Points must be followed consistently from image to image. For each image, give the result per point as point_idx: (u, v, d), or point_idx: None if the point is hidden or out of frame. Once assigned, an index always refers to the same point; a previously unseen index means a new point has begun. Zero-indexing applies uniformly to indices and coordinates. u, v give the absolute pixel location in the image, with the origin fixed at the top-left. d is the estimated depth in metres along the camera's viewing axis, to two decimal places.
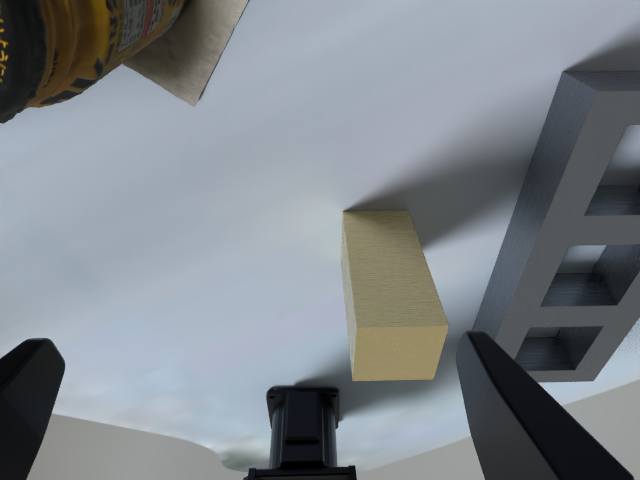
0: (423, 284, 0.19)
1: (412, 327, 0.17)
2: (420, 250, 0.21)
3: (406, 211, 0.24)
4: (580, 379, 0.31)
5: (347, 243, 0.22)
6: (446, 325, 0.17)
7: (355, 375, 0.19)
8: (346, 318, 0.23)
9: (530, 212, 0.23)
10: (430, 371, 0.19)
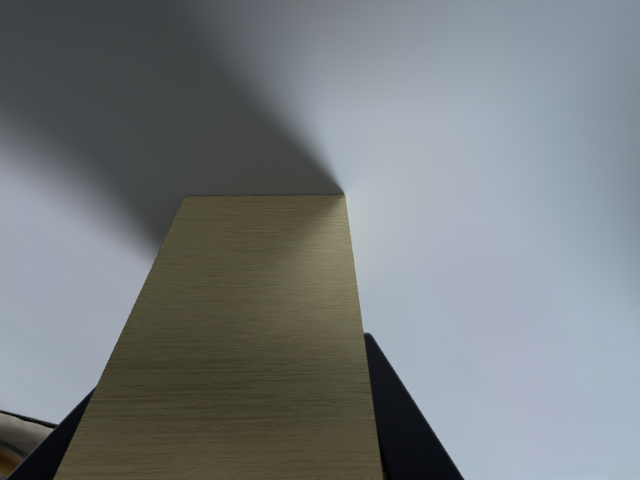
0: None
1: None
2: (131, 318, 0.07)
3: None
4: None
5: None
6: None
7: None
8: None
9: None
10: None
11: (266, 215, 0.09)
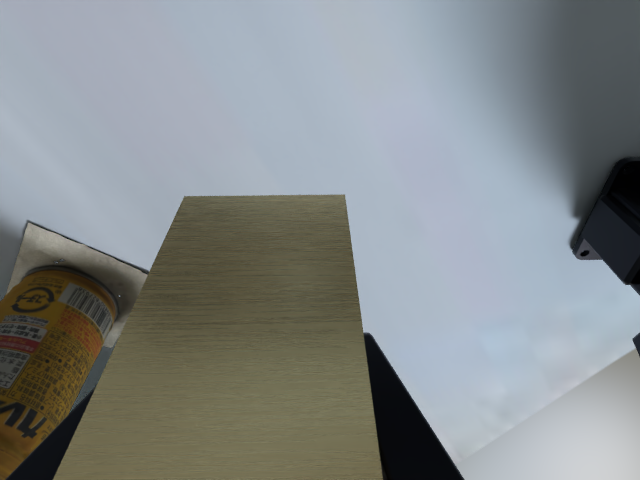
0: None
1: None
2: (131, 318, 0.07)
3: None
4: None
5: None
6: None
7: None
8: None
9: None
10: None
11: (266, 215, 0.09)
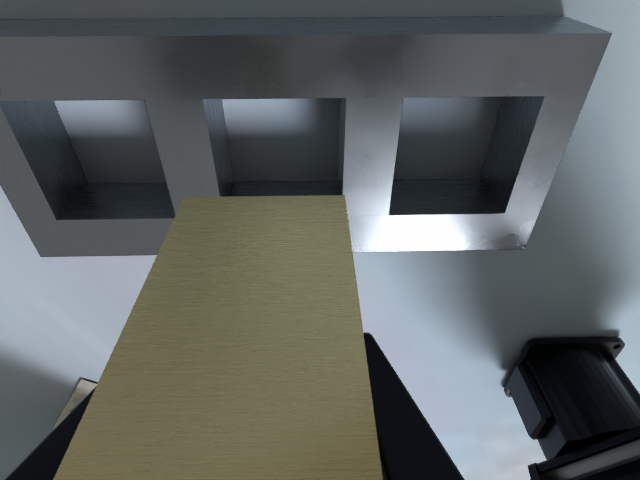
0: None
1: None
2: (131, 319, 0.07)
3: None
4: (590, 68, 0.14)
5: None
6: None
7: None
8: None
9: None
10: None
11: (266, 216, 0.09)
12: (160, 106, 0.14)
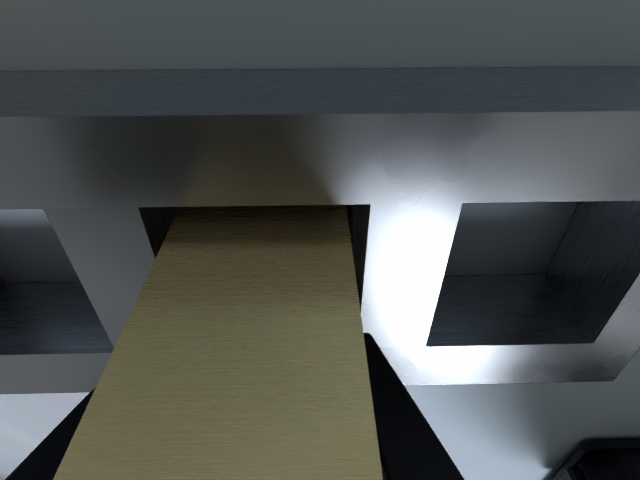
0: None
1: None
2: (131, 319, 0.07)
3: None
4: None
5: None
6: None
7: None
8: None
9: None
10: None
11: (266, 215, 0.09)
12: (71, 217, 0.09)
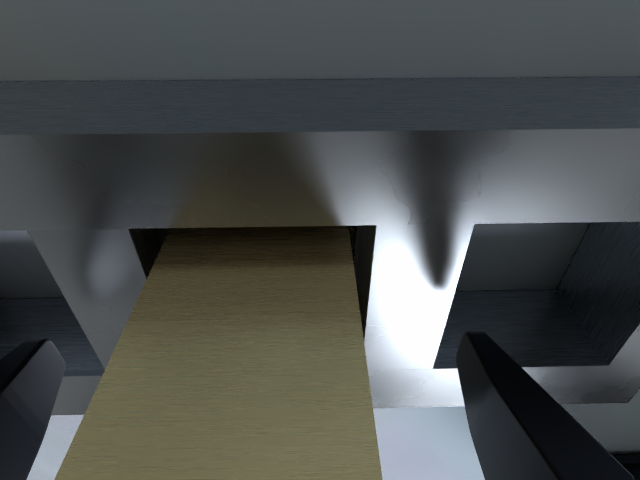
0: None
1: None
2: (149, 280, 0.08)
3: None
4: None
5: None
6: None
7: None
8: None
9: None
10: None
11: None
12: (56, 239, 0.08)
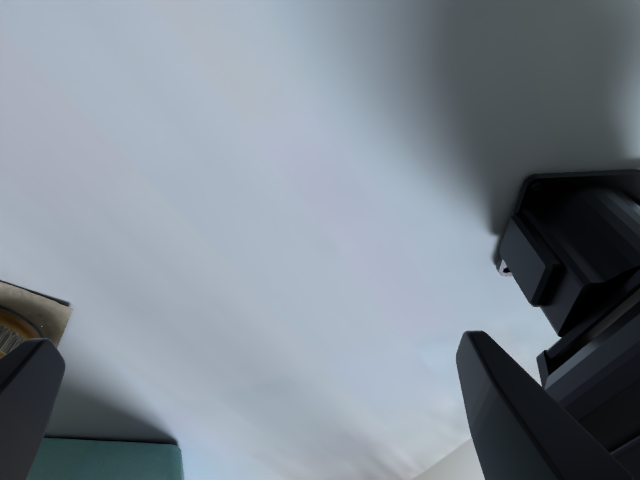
0: None
1: None
2: None
3: None
4: None
5: None
6: None
7: None
8: None
9: None
10: None
11: None
12: None
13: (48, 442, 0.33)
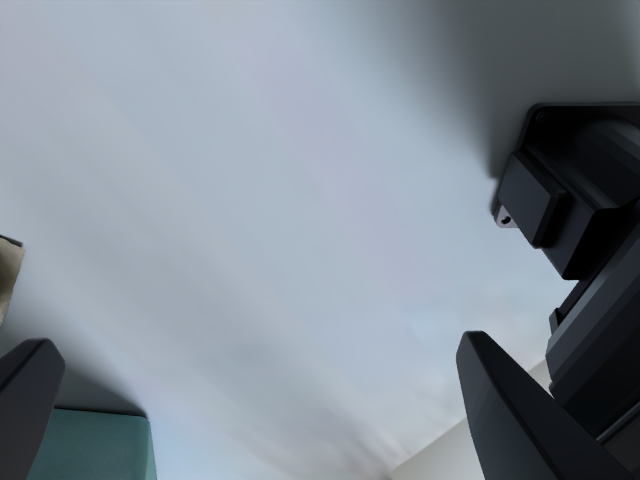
0: None
1: None
2: None
3: None
4: None
5: None
6: None
7: None
8: None
9: None
10: None
11: None
12: None
13: None
